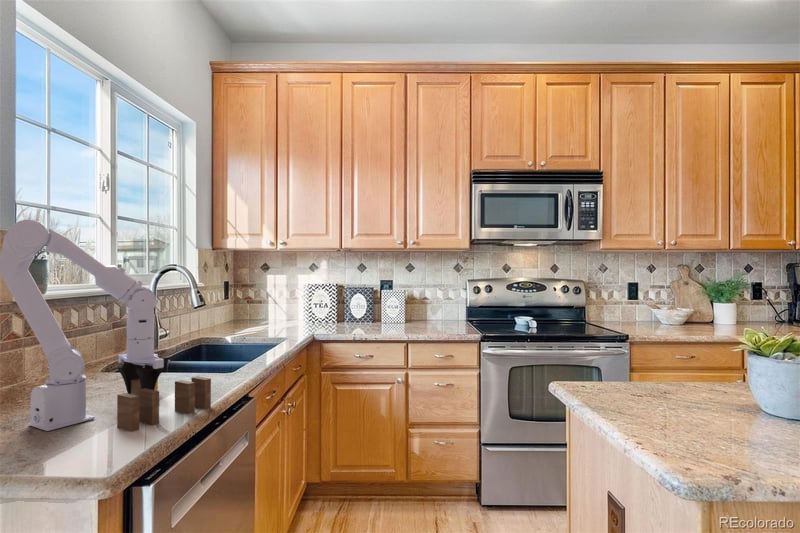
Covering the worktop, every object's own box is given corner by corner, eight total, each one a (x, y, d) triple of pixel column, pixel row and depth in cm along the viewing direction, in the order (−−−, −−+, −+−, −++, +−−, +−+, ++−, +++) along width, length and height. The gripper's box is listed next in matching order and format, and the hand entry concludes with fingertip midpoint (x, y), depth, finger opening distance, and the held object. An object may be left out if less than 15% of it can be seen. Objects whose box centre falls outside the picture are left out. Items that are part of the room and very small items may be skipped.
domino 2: (143, 412, 111) (143, 382, 111) (130, 409, 113) (130, 380, 113) (149, 411, 112) (150, 381, 112) (136, 407, 114) (137, 378, 114)
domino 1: (131, 431, 98) (131, 397, 98) (117, 427, 100) (117, 394, 100) (139, 429, 99) (139, 396, 99) (124, 425, 102) (124, 392, 102)
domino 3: (152, 425, 102) (152, 392, 102) (137, 421, 104) (138, 389, 104) (159, 423, 103) (159, 391, 103) (144, 419, 106) (145, 388, 106)
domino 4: (188, 414, 110) (188, 383, 110) (174, 411, 112) (174, 381, 112) (194, 412, 111) (194, 382, 111) (180, 409, 114) (180, 379, 114)
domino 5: (205, 409, 114) (205, 379, 114) (191, 406, 116) (191, 377, 116) (210, 407, 115) (210, 378, 115) (196, 404, 118) (197, 376, 118)
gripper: (175, 338, 113) (175, 395, 113) (138, 333, 120) (137, 388, 120) (147, 342, 106) (147, 403, 106) (109, 337, 113) (109, 394, 113)
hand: (140, 395), depth 113 cm, fingers closed on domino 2, 5 cm apart
